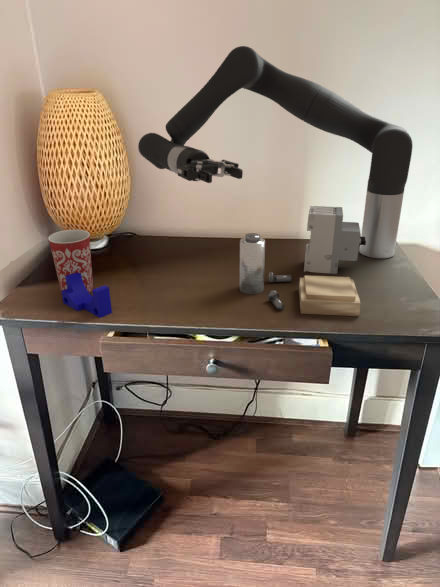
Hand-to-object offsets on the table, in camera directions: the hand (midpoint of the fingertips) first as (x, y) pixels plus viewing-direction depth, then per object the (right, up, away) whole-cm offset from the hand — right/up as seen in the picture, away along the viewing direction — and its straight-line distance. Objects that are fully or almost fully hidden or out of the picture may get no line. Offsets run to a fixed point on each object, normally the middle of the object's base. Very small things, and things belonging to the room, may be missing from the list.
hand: (226, 176), depth 107 cm
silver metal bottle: (+6, -26, +3) cm, 26 cm away
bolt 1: (+14, -24, +7) cm, 28 cm away
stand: (+22, -28, -3) cm, 36 cm away
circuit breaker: (+28, -20, +15) cm, 37 cm away
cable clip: (-30, -30, -4) cm, 43 cm away
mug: (-35, -25, +5) cm, 44 cm away
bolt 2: (+11, -29, -4) cm, 32 cm away
